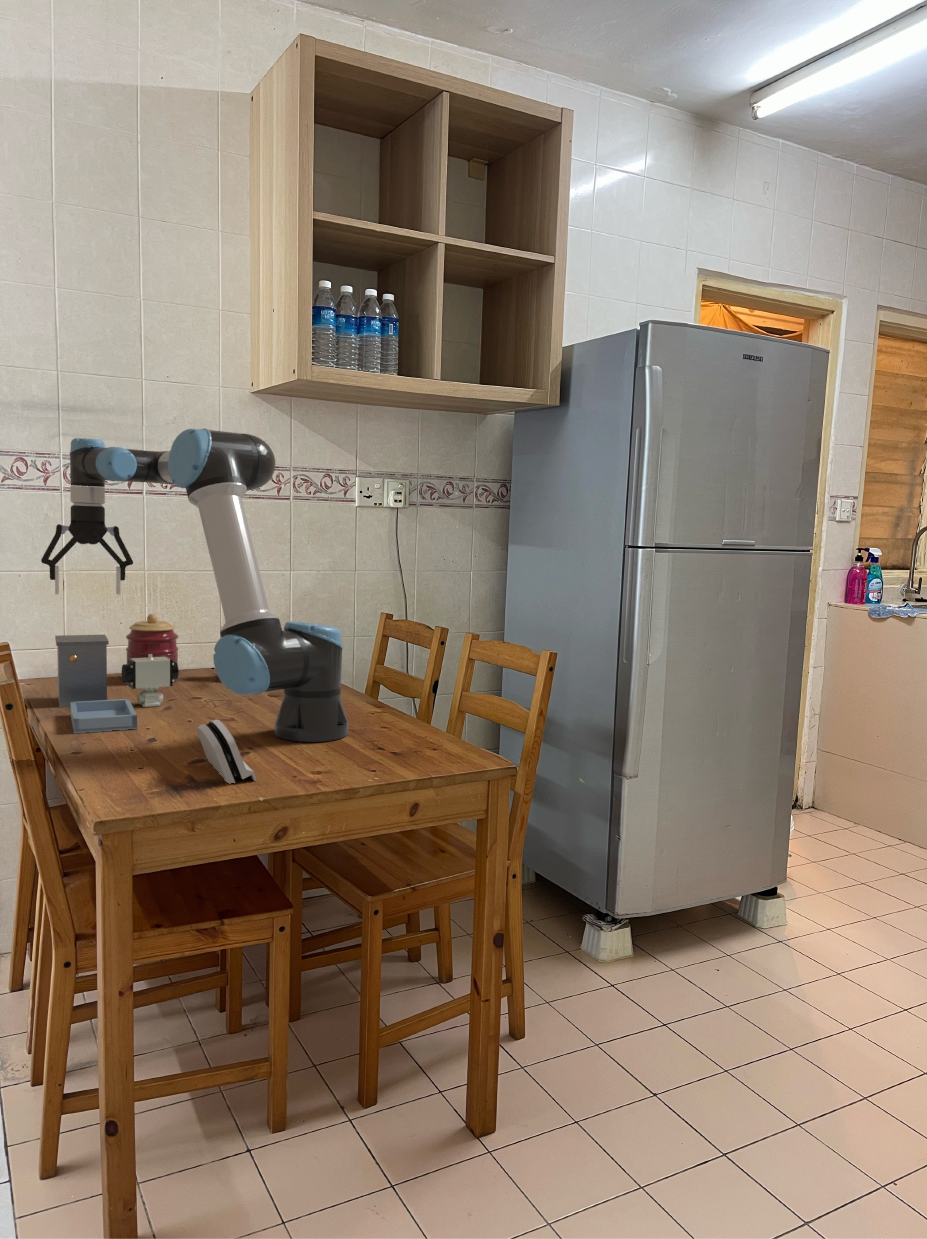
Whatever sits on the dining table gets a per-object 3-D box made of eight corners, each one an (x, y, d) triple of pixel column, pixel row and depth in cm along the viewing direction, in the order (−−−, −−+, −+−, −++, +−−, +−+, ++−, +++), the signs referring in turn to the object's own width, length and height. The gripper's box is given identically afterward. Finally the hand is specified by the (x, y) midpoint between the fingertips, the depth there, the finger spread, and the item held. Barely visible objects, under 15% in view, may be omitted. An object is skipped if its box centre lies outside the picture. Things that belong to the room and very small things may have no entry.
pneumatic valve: (178, 705, 209) (178, 654, 207) (126, 710, 202) (126, 657, 201) (172, 700, 213) (172, 650, 212) (120, 705, 207) (120, 653, 205)
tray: (137, 729, 185) (137, 715, 185) (73, 733, 180) (73, 719, 180) (129, 711, 201) (129, 698, 200) (70, 715, 195) (70, 701, 195)
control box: (109, 705, 206) (108, 641, 204) (57, 707, 202) (56, 642, 200) (105, 695, 216) (105, 634, 214) (56, 698, 211) (55, 635, 210)
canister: (124, 677, 239) (123, 611, 237) (174, 675, 245) (174, 610, 243) (128, 686, 228) (127, 617, 226) (181, 684, 233) (181, 616, 231)
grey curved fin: (258, 781, 154) (238, 729, 151) (231, 793, 152) (211, 740, 149) (234, 756, 168) (216, 708, 166) (210, 767, 166) (191, 718, 164)
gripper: (141, 506, 222) (141, 592, 225) (29, 502, 212) (30, 591, 214) (144, 507, 215) (144, 595, 218) (29, 502, 205) (30, 595, 208)
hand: (88, 594), depth 216 cm, fingers open, 13 cm apart
